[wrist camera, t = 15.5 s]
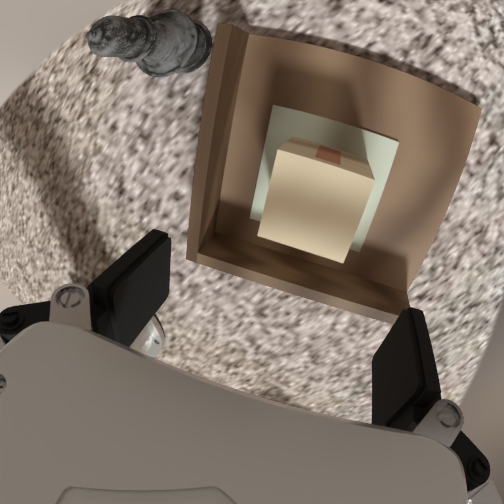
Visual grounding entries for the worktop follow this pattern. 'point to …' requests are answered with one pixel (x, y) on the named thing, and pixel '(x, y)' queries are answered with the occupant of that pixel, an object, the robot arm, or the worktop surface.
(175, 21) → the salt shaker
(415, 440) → the robot arm
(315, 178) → the maple cube
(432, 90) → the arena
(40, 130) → the worktop surface
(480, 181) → the worktop surface
